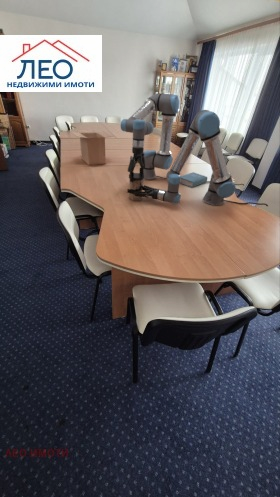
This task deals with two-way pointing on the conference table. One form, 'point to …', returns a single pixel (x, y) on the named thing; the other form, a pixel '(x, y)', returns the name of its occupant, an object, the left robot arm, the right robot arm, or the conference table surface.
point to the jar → (135, 186)
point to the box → (92, 146)
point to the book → (192, 179)
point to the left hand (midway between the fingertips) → (136, 179)
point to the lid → (137, 176)
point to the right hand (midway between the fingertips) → (130, 188)
